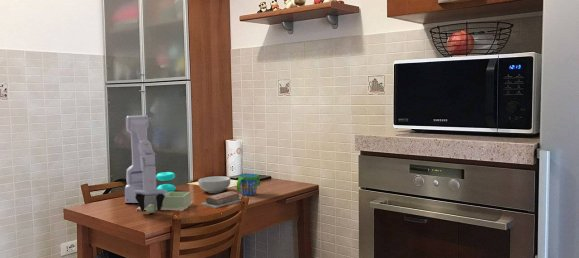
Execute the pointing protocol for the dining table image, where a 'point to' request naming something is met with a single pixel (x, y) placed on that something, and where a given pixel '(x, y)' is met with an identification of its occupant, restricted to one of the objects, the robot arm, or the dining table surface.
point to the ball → (150, 208)
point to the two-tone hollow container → (170, 201)
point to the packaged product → (221, 199)
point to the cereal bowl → (214, 184)
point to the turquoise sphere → (165, 177)
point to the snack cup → (248, 184)
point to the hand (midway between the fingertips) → (150, 210)
